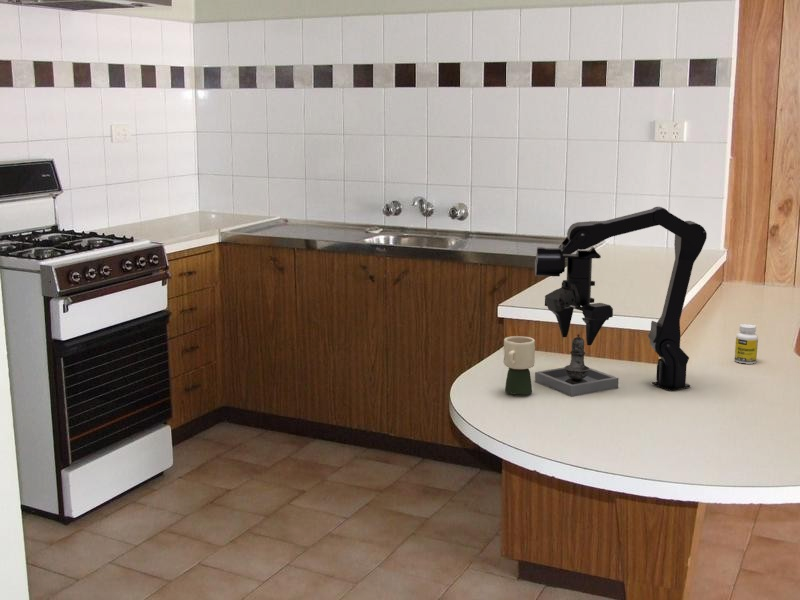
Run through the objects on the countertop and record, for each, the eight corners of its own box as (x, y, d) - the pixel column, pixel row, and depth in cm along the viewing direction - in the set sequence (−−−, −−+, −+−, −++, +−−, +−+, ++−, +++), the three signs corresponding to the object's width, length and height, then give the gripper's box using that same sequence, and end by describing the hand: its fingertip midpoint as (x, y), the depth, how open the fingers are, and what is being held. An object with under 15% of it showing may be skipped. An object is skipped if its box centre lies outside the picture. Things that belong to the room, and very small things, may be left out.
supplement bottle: (733, 363, 242) (736, 326, 241) (734, 358, 247) (737, 322, 245) (756, 365, 240) (758, 328, 239) (756, 360, 245) (759, 324, 243)
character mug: (513, 385, 224) (514, 333, 221) (541, 389, 220) (542, 336, 218) (494, 397, 215) (495, 342, 212) (523, 402, 211) (524, 346, 209)
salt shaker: (559, 380, 226) (561, 332, 224) (581, 378, 228) (583, 330, 225) (571, 386, 220) (573, 337, 218) (593, 384, 222) (595, 335, 220)
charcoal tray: (618, 388, 221) (618, 378, 221) (571, 396, 215) (571, 386, 214) (580, 374, 233) (580, 364, 233) (534, 381, 227) (535, 372, 226)
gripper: (527, 273, 223) (525, 336, 226) (577, 285, 207) (574, 353, 210) (564, 269, 228) (562, 331, 232) (615, 281, 212) (612, 347, 215)
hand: (576, 341), depth 222 cm, fingers open, 9 cm apart
